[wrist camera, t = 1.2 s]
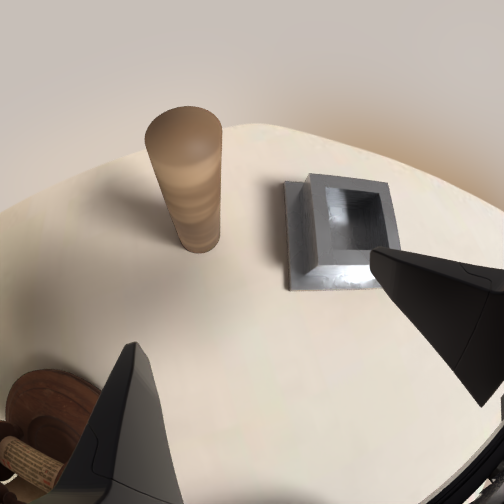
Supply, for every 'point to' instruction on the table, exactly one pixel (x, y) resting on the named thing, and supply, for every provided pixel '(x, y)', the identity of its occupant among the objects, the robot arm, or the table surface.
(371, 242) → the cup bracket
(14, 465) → the brown wooden spool stand
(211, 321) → the table surface
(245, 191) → the table surface
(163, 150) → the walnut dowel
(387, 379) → the table surface
